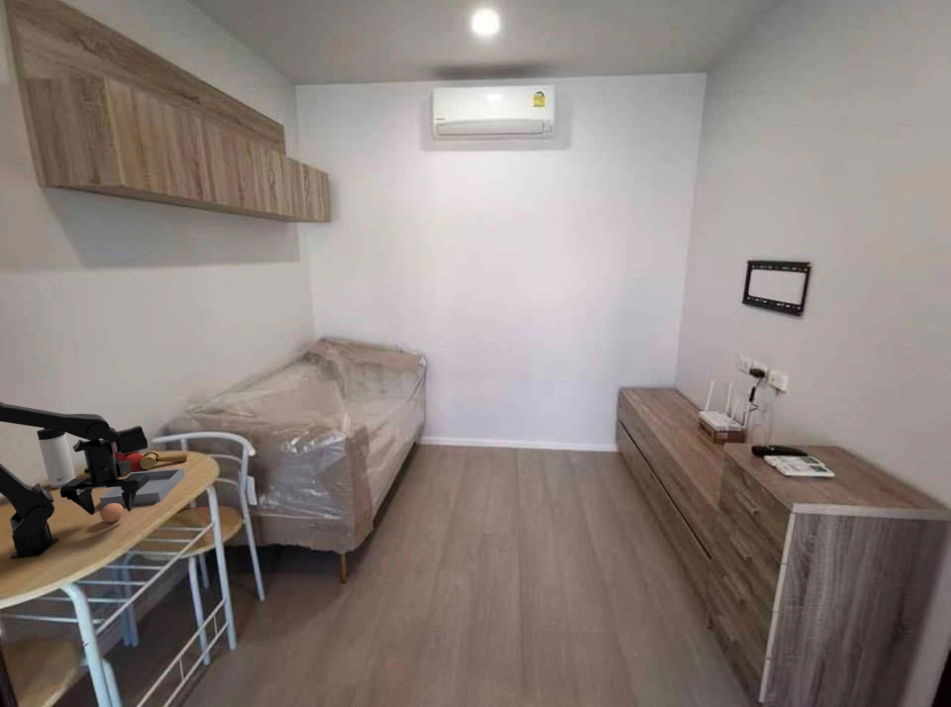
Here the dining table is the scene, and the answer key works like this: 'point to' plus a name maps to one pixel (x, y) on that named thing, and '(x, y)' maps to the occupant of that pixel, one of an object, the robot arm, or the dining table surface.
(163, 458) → the kendama
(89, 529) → the dining table surface
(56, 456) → the travel mug
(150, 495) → the tray
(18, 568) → the dining table surface
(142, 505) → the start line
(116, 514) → the ball
